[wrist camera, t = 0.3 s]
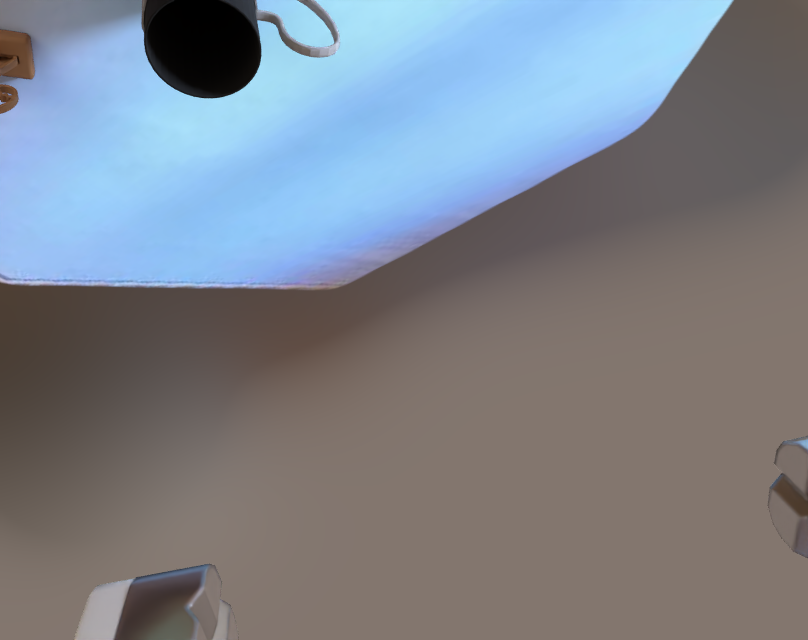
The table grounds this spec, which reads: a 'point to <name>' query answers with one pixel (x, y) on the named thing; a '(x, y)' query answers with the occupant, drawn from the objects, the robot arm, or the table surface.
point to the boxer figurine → (14, 64)
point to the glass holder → (215, 42)
